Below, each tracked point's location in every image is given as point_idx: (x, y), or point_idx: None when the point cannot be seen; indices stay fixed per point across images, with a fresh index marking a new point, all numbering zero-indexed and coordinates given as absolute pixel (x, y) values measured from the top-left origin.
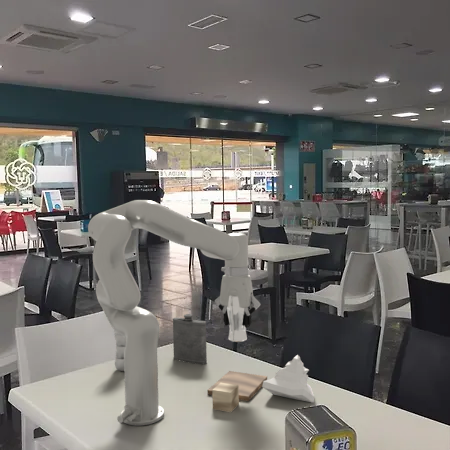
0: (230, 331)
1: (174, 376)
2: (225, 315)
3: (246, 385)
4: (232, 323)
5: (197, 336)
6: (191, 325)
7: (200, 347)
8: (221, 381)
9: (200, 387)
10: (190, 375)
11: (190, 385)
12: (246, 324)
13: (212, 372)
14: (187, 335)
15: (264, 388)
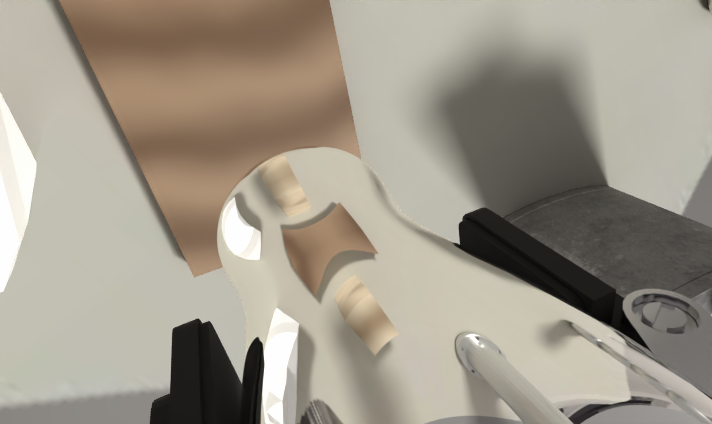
0: (374, 192)
1: (541, 50)
2: (578, 281)
3: (192, 128)
4: (378, 232)
5: (614, 262)
6: (691, 278)
7: (561, 244)
8: (328, 91)
9: (391, 12)
10: (493, 100)
11: (440, 5)
12: (174, 356)
13: (436, 181)
14: (655, 243)
15: (3, 100)
